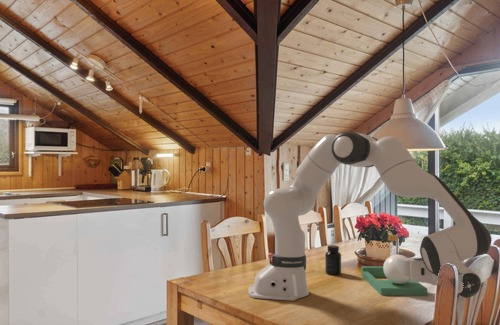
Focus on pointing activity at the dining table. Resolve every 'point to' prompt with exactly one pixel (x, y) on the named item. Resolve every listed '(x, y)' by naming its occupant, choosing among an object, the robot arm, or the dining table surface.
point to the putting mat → (387, 286)
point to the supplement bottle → (333, 260)
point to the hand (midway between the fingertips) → (420, 260)
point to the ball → (394, 270)
